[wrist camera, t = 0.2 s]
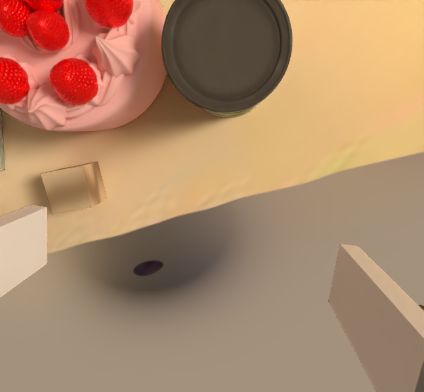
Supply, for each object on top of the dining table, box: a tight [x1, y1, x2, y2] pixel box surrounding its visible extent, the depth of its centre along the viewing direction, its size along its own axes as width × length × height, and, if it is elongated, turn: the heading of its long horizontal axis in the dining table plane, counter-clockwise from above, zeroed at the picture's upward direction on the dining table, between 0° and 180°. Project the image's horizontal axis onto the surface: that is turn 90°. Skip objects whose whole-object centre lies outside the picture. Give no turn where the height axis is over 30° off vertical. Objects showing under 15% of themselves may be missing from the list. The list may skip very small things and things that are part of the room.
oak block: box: [41, 162, 107, 214], centre depth 41 cm, size 5×5×5 cm
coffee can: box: [161, 0, 292, 117], centre depth 32 cm, size 10×10×14 cm
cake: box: [0, 0, 167, 131], centre depth 33 cm, size 20×20×14 cm
